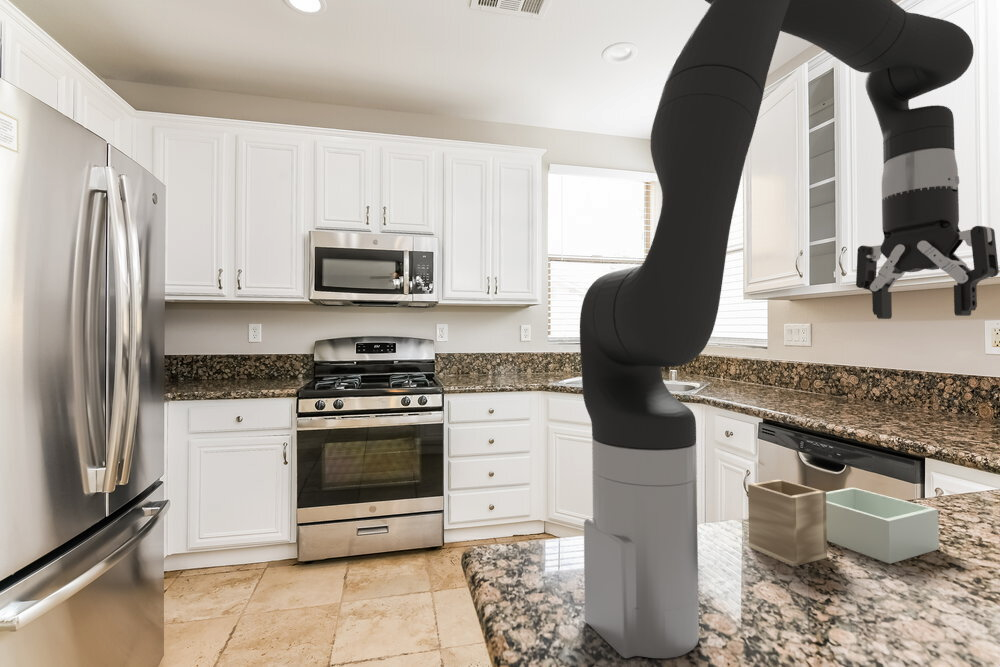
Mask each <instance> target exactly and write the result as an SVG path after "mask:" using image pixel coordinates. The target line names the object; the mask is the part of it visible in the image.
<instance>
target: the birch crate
mask: <svg viewBox="0 0 1000 667" xmlns="http://www.w3.org/2000/svg"><path fill="white" fill-rule="evenodd" d="M826 492H827V491H825V490H820V489H817V488H813V487H810V486H807V485H803V484H800V483H796V482H792V481H789V480H785V479H782V478H779V479H772V480H767V481H761V482H760V481H759V482H754V483H749V484H747V494H748V496H747V497H748V498H747V499H748V500H747V501H748V502H747V505H748V508H747V509H748V548H751V549H753V550H755V551H758V552H760V553H762V554H764V555H767V556H769V557H771V558H773V559H775V560H777V559H778V560H777V561H779V560H780V562H782V563H784V562H785V563H784V564H787V565H788V564H789V566H791V567H797V566H796V565H798V566H801V565H803V564H808V563H812V562H815V561H820V560H824V559H827V558H828V541H827V520H826Z"/></svg>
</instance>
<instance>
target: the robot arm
mask: <svg viewBox="0 0 1000 667" xmlns="http://www.w3.org/2000/svg"><path fill="white" fill-rule="evenodd" d="M704 1H705V2H706V3H708V4H709V7H708V8H707V10H706V11H705V13H704V15H703V16H702V18H701V19H700V20H699V22H698V24H697V26H696V27H695V28H694V30H693V32H692V33H691V35H690V36H689V38H688V39H687V40H686V43H685V44H684V46H683V47H682V49H681V51H680V52H679V54H678V56H677V57H676V59H675V61H674V63H673V65H672V66H671V69H670V71H669V73H668V76H667V78H666V81H665V84H664V86H663V89H662V92H661V96H660V100H659V102H658V106H657V109H656V113H655V115H654V116H655V117H654V120H653V122H652V127H651V131H650V154H651V159H652V163H653V166H654V170H655V172H656V175H657V179H658V182H659V185H660V189H661V193H662V194H661V195H662V197H661V198H662V201H661V209H660V213H659V218H658V222H657V225H656V229H655V232H654V236H653V239H652V242H651V245H650V248H649V250H648V252H647V255H646V256H645V259H644V261H643V263H642V264H641V265H637V266H634V267H633V266H632V267H629V268H625V269H620V270H615V271H611V272H609V273H606V274H604V275H602V276H600V277H598V278H597V279H596V280H595V281H594V282H592V284H591V285H590V286H589V288H588V289H587V291H586V293H585V294H584V295H585V296H584V298H583V301H582V304H581V308H580V317H579V347H580V348H579V350H580V365H581V366H580V367H581V369H580V370H581V384H582V387H581V388H582V397H583V401H584V404H585V408H586V411H587V414H588V416H589V418H590V422H591V437H592V439H591V440H592V448H591V449H592V450H591V451H592V457H591V458H592V517H591V518H586V519H584V522H583V550H584V551H583V553H584V554H583V557H584V558H583V559H584V560H583V561H584V565H583V566H584V567H583V568H584V571H583V572H584V573H583V574H584V576H583V577H584V578H583V579H584V621H585V622H586V624H587V625H589V627H591V628H592V630H594V631H595V632H596V633H597V634H598V635H599V636H600V637H601V638H602V639H604V640H605V642H606V643H608V645H610V646H611V647H612V648H613V650H615V651H616V653H617V654H619V656H621V657H622V658H623V659H630V658H632V657H643V658H644V657H645V658H648V659H649V658H650V659H669V658H671V659H672V658H679V657H680V656H684V655H686V654H688V653H690V652H691V651H693V650H694V649H695V647H697V645H698V642H699V639H700V631H699V630H700V626H699V624H700V623H699V621H700V620H699V618H700V617H699V616H700V615H699V612H700V611H699V562H698V561H699V557H698V556H699V553H698V551H699V550H698V549H699V548H698V547H699V546H698V545H699V544H698V541H699V540H698V486H697V485H698V481H697V479H698V477H697V476H698V474H697V472H698V470H697V469H698V468H697V457H698V456H697V422H696V416H695V413H694V412H693V411H692V409H691V408H689V407H688V406H686V405H685V404H684V403H682V402H681V401H680V400H678V398H676V397H675V396H674V395H673V394H672V392H670V390H669V389H668V387H667V386H666V384H665V382H664V379H663V374H662V373H663V372H662V367H663V368H674V367H675V368H677V367H681V366H684V365H687V364H689V363H691V362H693V361H694V360H695V359H697V358H698V357H699V355H700V354H701V353H702V352H703V351H704V349H705V348H706V346H707V345H708V342H709V340H710V339H711V336H712V334H713V331H714V329H715V324H716V320H717V316H718V312H719V306H720V300H721V295H722V294H721V293H722V287H723V279H724V273H725V265H726V258H727V251H728V243H729V239H730V238H729V237H730V232H731V231H730V230H731V225H732V220H733V215H734V211H735V205H736V203H737V198H738V193H739V189H740V185H741V179H742V175H743V171H744V166H745V163H746V158H747V155H748V152H749V148H750V146H751V142H752V139H753V135H754V132H755V130H756V124H757V121H758V118H759V114H760V110H761V105H762V102H763V97H764V93H765V88H766V83H767V79H768V78H767V77H768V74H769V71H770V67H771V64H772V59H773V58H774V54H775V49H776V46H777V43H778V39H779V35H780V33H781V32H782V33H785V34H788V35H790V36H794V37H796V38H799V39H801V40H804V41H806V42H808V43H811V44H813V46H817V47H818V48H820V49H822V50H824V51H825V52H827V53H828V54H830V55H831V56H833V57H834V58H836V59H837V60H838V61H840V62H842V63H843V64H845V65H846V66H848V67H850V68H851V69H853V70H854V71H857V72H859V73H864V74H865V73H866V76H865V81H864V84H865V85H864V86H865V90H866V92H867V95H868V98H869V102H870V103H871V105H872V108H873V110H874V112H875V116H876V118H877V121H878V124H879V128H880V130H881V134H882V149H883V152H882V154H883V155H882V156H883V160H882V161H883V168H882V176H881V216H882V217H881V218H882V219H881V220H882V221H881V222H882V223H881V224H882V225H881V226H882V233H883V241H882V244H881V245H880V244H879V245H870V246H869V245H861V246H859V247H858V248H857V253H856V276H855V277H856V279H855V280H856V281H855V286H856V287H857V288H858V289H864V290H868V291H870V292H871V298H872V299H871V300H872V313H873V315H874V316H876V318H877V320H891V319H892V317H893V316H892V315H893V309H892V308H893V307H892V306H893V301H892V292H891V291H890V290H891V288H892V287H893V286H894V285H895V283H896V282H897V281H898V280H899V279H901V278H902V277H903V276H904V275H905V273H919V272H920V271H923V270H930V271H934V270H942V271H943V272H945V273H946V274H948V275H949V276H950V277H951V278H952V279H953V280H954V281H955V282H957V284H954V285H953V305H954V308H953V311H954V315H955V316H956V317H958V316H959V317H970V316H971V315H972V312H973V311H976V310H977V306H978V300H977V299H978V294H977V293H978V292H977V291H978V290H977V285H978V284H979V283H980V282H981V281H984V280H986V279H988V278H995V277H997V276H998V274H999V273H1000V270H999V262H998V254H997V253H998V252H997V251H998V250H997V243H996V241H997V240H996V236H995V235H996V232H995V229H994V228H992V227H989V226H985V225H975V226H972V227H971V229H967V230H963V231H961V230H960V228H959V223H960V207H959V204H960V203H959V200H960V199H959V184H960V177H959V172H958V171H959V169H958V163H957V159H956V153H955V152H956V151H955V121H954V120H955V119H954V113H953V111H952V110H951V109H950V107H948V106H945V105H938V104H937V105H927V106H919V107H915V108H910V106H909V103H910V102H909V101H910V100H912V99H914V98H917V97H919V96H922V95H924V94H927V93H929V92H932V91H934V90H937V89H939V88H940V89H941V88H942V87H945V86H947V85H950V84H951V83H953V82H955V81H956V80H958V79H960V77H962V76H963V75H964V74H965V73H966V72H967V70H968V69H969V67H970V65H972V64H971V63H972V62H973V59H974V51H975V50H974V44H973V42H972V41H973V40H972V38H971V37H970V34H968V33H967V32H966V31H965V30H964V29H963V28H962V27H961V26H959V25H957V24H955V23H954V22H951V21H949V20H946V19H942V18H938V17H932V16H928V15H923V14H919V13H914V12H909V11H908V12H907V11H906V10H905V9H904V8H902V7H901V6H900V5H898V4H897V3H896V2H894V0H704ZM963 242H965V244H966V245H967V246H968V247H971V250H972V259H973V269H971V268H969V267H968V265H967V263H966V262H965V261H963V260H962V258H960V257H959V256H958V255H957V254H956V253H955V252H956V251H957V250H958V248H959V247H960V246H961V244H962V243H963ZM881 255H883V256H884V258H886V261H885V262H883V264H882V266H881V267H880V269H879V270H878V272H877V265H878V261H879V260H880V259H881ZM877 273H878V274H877Z"/></svg>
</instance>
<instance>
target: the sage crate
mask: <svg viewBox="0 0 1000 667" xmlns="http://www.w3.org/2000/svg"><path fill="white" fill-rule="evenodd" d="M825 492H826V520H827V542H830V543H832V544H834V545H838V546H840V547H842V548H846V549H848V550H851V551H853V552H857V553H858V554H862V555H865V556H866V557H870V558H873V559H875V560H878V561H881V562H884V563H885V564H888V565H890V564H894V563H898V562H900V561H904V560H908V559H912V558H915V557H918V556H922V555H923V554H927V553H932V552H934V551H937V550H940V537H939V536H940V535H939V533H940V532H939V530H940V529H939V508H935V507H932V506H928V505H922V504H919V503H916V502H911V501H908V500H904V499H901V498H897V497H891V496H888V495H884V494H881V493H878V492H873V491H869V490H864V489H861V488H857V487H854V486H852V487H847V488H846V487H845V488H842V489H836V490H831V491H825Z"/></svg>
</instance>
